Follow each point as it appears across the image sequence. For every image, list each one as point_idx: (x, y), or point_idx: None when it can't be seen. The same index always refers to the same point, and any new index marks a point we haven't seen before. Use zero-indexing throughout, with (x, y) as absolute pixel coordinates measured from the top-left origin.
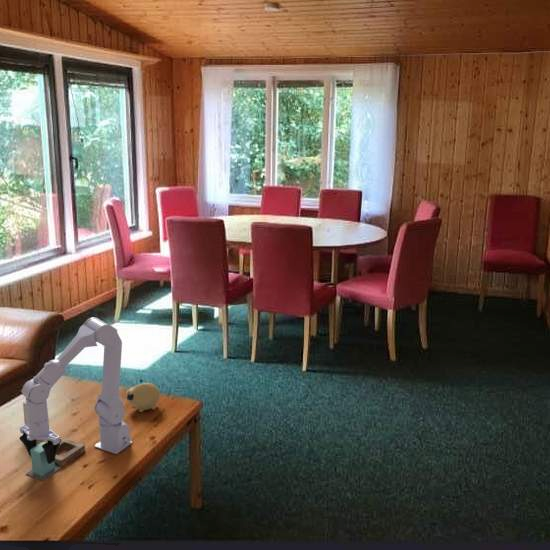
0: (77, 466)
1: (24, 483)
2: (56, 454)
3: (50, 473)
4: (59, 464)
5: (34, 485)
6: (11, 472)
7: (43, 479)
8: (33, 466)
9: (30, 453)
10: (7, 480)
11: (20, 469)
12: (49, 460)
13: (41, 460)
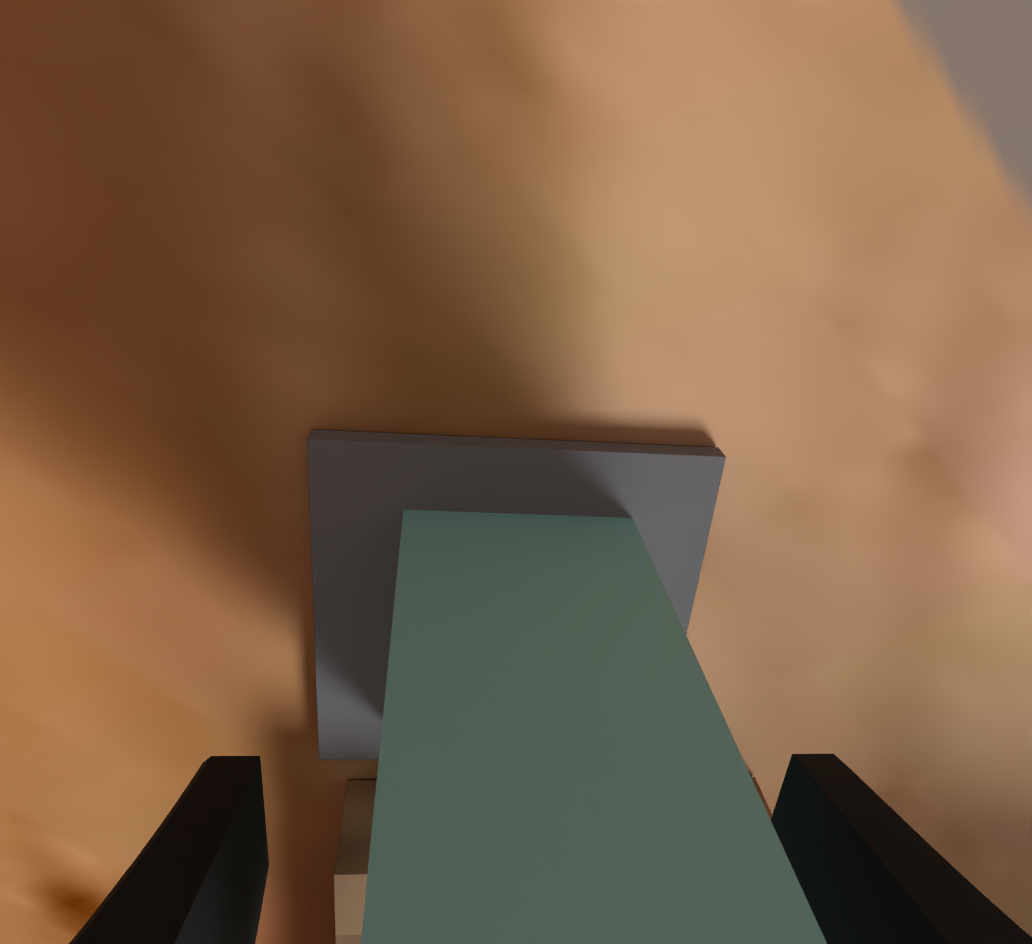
0: None
1: (568, 240)
2: None
3: (340, 614)
4: None
5: (345, 271)
6: (994, 390)
7: (309, 455)
8: (627, 593)
9: (844, 830)
10: (936, 177)
11: (894, 506)
12: (158, 842)
13: (380, 765)
